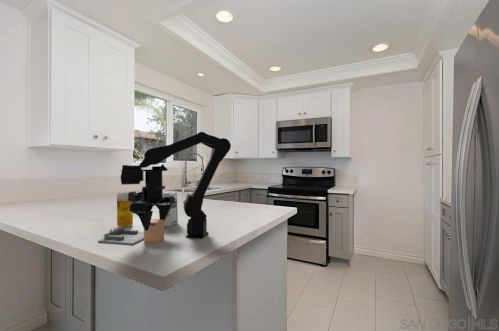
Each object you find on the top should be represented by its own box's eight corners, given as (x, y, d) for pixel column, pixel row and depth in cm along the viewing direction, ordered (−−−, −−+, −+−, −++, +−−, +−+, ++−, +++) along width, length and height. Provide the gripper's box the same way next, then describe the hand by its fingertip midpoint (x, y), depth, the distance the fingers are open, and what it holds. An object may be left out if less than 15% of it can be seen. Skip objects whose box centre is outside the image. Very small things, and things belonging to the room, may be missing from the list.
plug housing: (164, 238, 86) (164, 219, 86) (156, 242, 82) (156, 222, 82) (152, 237, 87) (151, 219, 87) (144, 241, 83) (143, 222, 83)
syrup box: (171, 226, 103) (171, 193, 103) (159, 225, 104) (159, 193, 104) (177, 223, 109) (177, 191, 108) (166, 222, 110) (166, 191, 110)
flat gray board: (154, 234, 91) (154, 225, 91) (133, 244, 79) (132, 234, 79) (123, 232, 94) (123, 223, 94) (98, 242, 82) (98, 232, 82)
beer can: (113, 227, 101) (113, 192, 101) (126, 224, 107) (125, 191, 107) (124, 228, 99) (123, 193, 99) (135, 225, 105) (135, 191, 105)
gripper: (150, 181, 95) (150, 219, 95) (114, 185, 77) (115, 233, 77) (175, 181, 93) (175, 221, 93) (144, 186, 74) (145, 235, 75)
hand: (154, 227), depth 84 cm, fingers open, 9 cm apart
